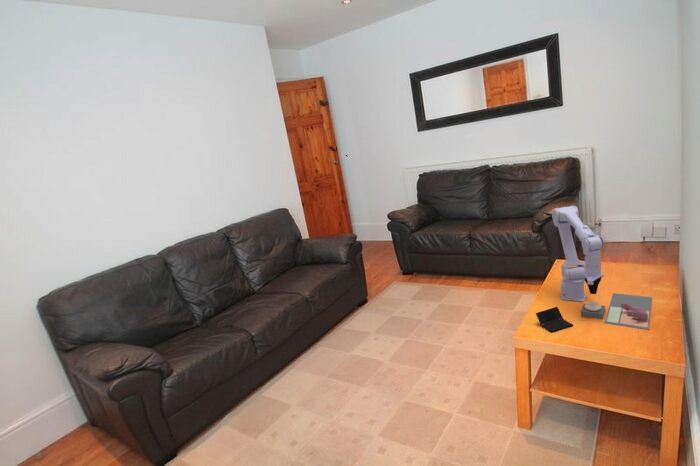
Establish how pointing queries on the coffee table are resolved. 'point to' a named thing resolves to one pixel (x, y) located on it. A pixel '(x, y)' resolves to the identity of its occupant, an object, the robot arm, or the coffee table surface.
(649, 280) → the coffee table surface
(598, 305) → the button
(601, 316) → the button housing
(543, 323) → the handheld gaming console
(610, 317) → the grey flat board
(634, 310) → the video game controller
